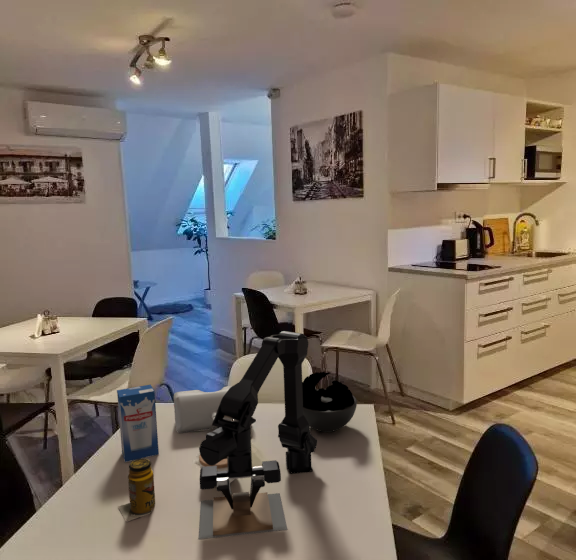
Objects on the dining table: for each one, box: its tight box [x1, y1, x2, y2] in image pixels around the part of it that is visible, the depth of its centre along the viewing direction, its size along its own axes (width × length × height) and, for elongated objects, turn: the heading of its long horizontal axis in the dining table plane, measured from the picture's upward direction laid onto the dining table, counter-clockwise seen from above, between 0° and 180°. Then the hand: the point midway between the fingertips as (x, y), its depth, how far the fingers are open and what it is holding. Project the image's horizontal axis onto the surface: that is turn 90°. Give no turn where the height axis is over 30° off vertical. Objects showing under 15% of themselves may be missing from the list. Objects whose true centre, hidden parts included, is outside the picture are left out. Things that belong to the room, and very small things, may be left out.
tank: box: [173, 385, 233, 434], centre depth 171 cm, size 25×16×12 cm, turn 105°
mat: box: [197, 492, 288, 540], centre depth 123 cm, size 20×15×1 cm
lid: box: [212, 491, 273, 536], centre depth 122 cm, size 14×14×4 cm
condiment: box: [117, 458, 156, 523], centre depth 126 cm, size 7×8×12 cm
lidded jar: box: [198, 454, 235, 484], centre depth 137 cm, size 11×11×9 cm
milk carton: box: [116, 384, 160, 463], centre depth 153 cm, size 10×6×20 cm, turn 115°
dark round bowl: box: [302, 371, 358, 433], centre depth 167 cm, size 20×20×19 cm
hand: (241, 507), depth 122 cm, fingers closed on lid, 4 cm apart
